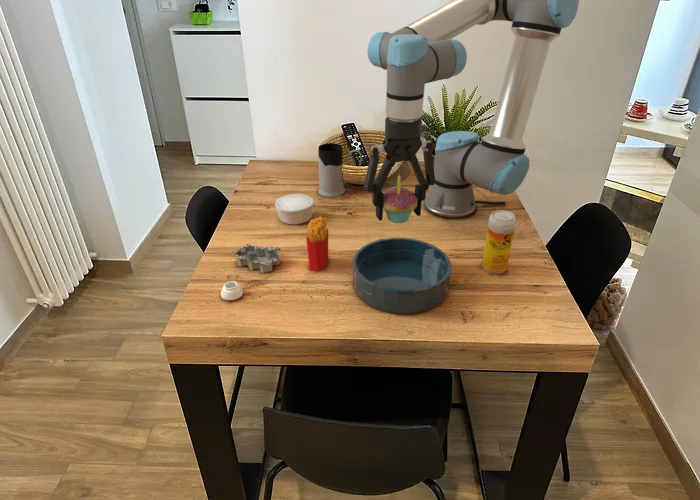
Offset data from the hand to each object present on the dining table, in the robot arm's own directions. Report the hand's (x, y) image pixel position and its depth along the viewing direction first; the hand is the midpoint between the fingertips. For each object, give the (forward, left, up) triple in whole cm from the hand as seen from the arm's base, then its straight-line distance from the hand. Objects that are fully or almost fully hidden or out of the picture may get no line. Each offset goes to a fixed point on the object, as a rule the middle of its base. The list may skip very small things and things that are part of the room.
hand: (398, 215), depth 114 cm
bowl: (0, +5, -16) cm, 17 cm away
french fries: (+17, -9, -17) cm, 26 cm away
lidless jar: (+39, -1, -17) cm, 43 cm away
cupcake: (0, 0, -1) cm, 1 cm away
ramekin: (+19, -35, -17) cm, 43 cm away
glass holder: (+2, -50, -17) cm, 53 cm away
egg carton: (+32, -13, -17) cm, 39 cm away
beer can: (-25, +4, -17) cm, 30 cm away
